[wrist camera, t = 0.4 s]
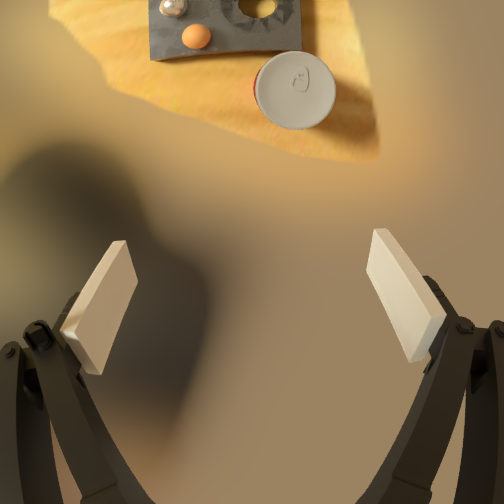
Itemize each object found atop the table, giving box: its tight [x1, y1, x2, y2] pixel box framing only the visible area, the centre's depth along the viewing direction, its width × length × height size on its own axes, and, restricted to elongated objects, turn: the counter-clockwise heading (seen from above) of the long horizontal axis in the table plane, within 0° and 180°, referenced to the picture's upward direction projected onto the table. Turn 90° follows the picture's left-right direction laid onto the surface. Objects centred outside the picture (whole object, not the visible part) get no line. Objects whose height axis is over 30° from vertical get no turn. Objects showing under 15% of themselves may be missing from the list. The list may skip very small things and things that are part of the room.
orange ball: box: [182, 24, 211, 49], centre depth 26 cm, size 3×3×3 cm
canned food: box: [253, 51, 336, 130], centre depth 29 cm, size 8×8×11 cm
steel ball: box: [160, 0, 188, 18], centre depth 24 cm, size 3×3×3 cm
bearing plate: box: [149, 0, 302, 61], centre depth 27 cm, size 13×18×2 cm
